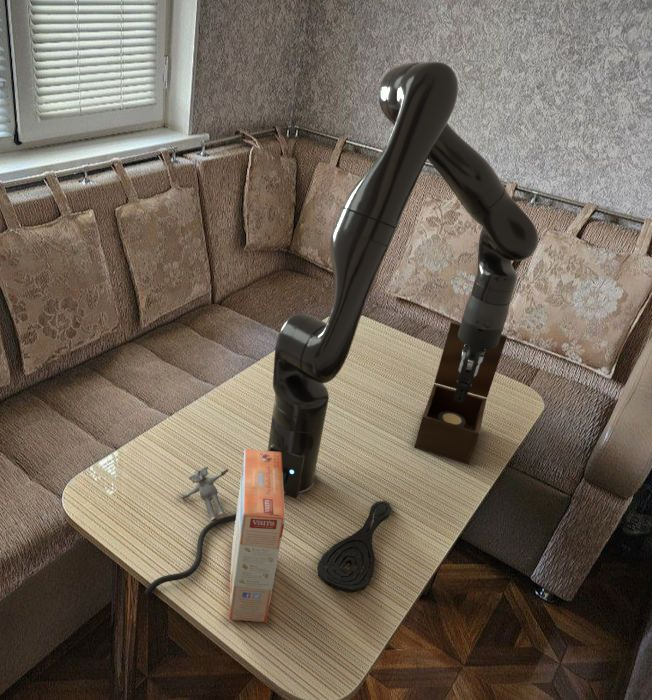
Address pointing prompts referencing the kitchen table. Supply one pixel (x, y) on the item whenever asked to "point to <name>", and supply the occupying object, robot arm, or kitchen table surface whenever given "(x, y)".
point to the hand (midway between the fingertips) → (461, 391)
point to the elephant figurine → (207, 490)
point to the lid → (452, 361)
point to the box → (450, 425)
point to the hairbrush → (353, 555)
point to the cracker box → (256, 535)
